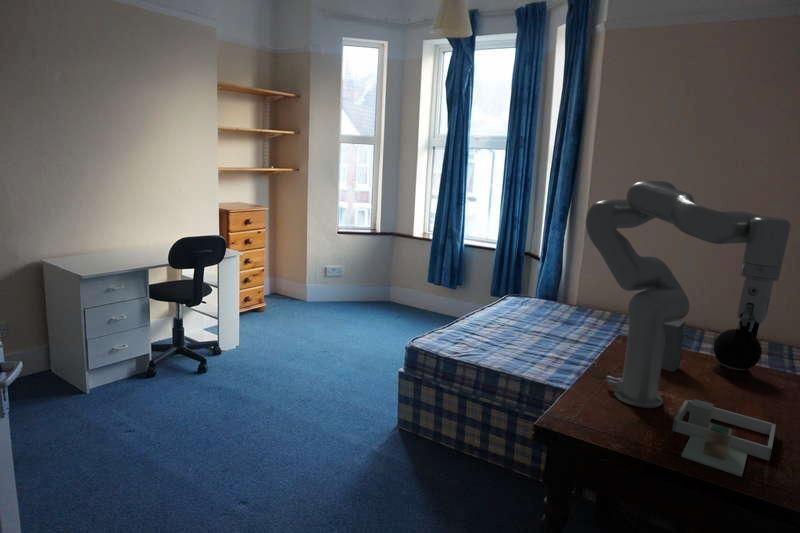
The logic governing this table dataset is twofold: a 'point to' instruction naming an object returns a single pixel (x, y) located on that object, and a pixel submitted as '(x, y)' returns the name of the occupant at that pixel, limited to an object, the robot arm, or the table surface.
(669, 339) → the skincare box
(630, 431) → the table surface
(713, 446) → the labelled block
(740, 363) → the dark rounded object
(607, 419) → the table surface
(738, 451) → the mat
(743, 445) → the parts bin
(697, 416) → the plain block
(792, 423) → the table surface
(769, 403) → the table surface
